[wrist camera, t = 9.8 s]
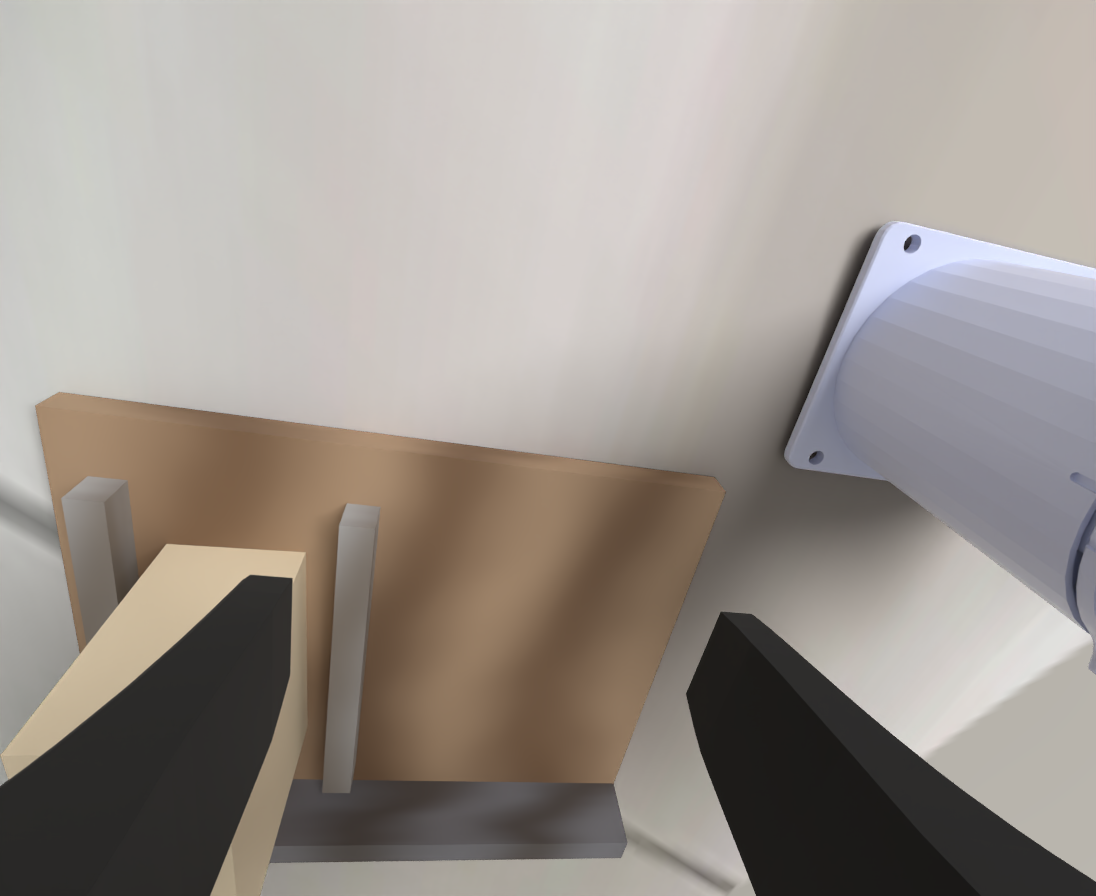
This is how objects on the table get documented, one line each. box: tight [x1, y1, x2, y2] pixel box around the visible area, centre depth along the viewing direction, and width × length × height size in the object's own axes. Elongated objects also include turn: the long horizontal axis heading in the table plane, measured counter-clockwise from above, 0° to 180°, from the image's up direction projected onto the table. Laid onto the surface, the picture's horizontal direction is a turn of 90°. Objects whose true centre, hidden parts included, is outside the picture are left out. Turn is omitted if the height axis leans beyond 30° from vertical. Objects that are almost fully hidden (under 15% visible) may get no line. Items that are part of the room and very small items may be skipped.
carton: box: [0, 544, 308, 896], centre depth 16 cm, size 8×4×7 cm, turn 170°
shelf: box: [35, 392, 726, 863], centre depth 20 cm, size 20×16×4 cm
